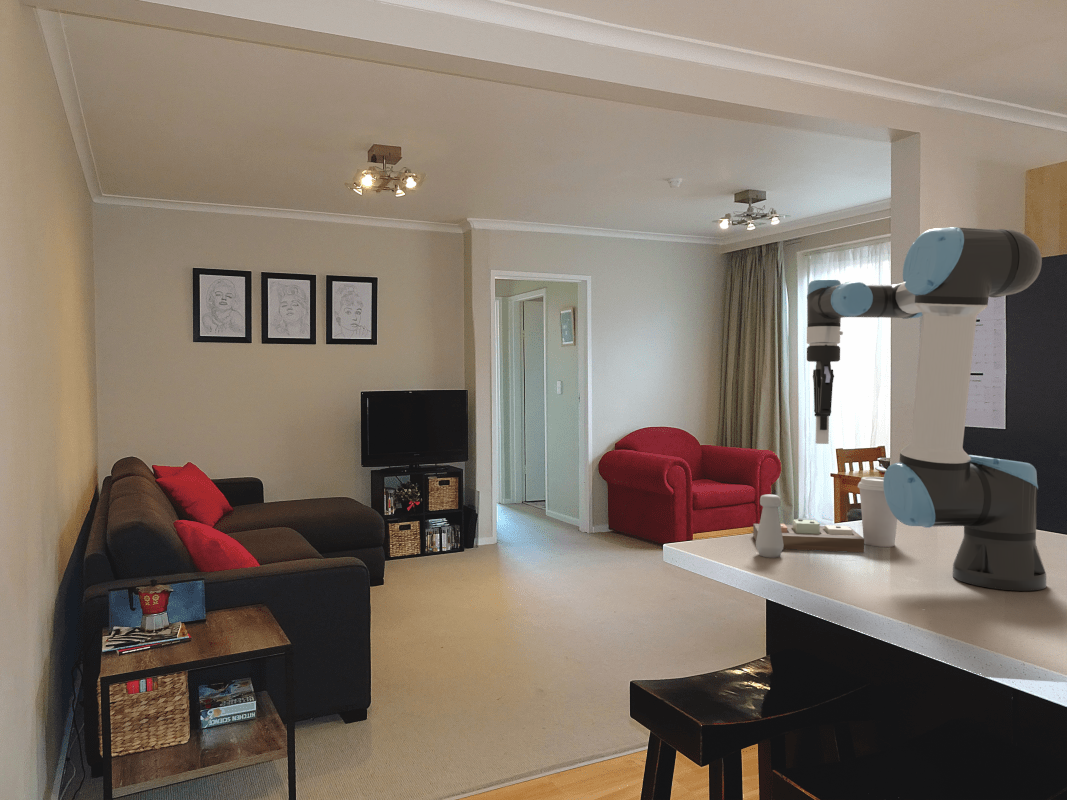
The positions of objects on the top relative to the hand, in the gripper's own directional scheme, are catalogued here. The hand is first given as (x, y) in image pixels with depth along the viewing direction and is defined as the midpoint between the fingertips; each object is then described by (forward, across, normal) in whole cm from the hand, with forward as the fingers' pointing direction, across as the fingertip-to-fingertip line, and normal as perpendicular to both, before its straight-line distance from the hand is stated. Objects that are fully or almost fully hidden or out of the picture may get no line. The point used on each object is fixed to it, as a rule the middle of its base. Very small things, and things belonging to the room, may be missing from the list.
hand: (822, 443), depth 188 cm
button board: (+22, -10, +5) cm, 25 cm away
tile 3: (+21, -10, +12) cm, 26 cm away
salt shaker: (+23, -24, +15) cm, 36 cm away
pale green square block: (+20, -10, +5) cm, 23 cm away
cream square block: (+21, -10, -2) cm, 23 cm away
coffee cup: (+23, -7, -12) cm, 26 cm away
